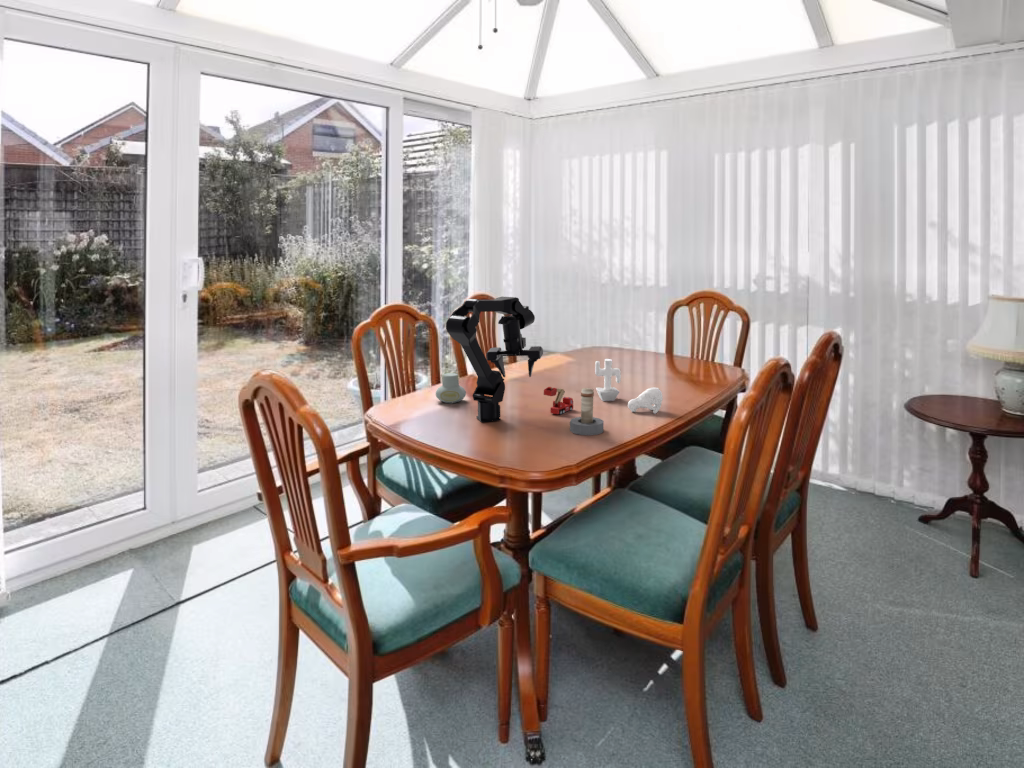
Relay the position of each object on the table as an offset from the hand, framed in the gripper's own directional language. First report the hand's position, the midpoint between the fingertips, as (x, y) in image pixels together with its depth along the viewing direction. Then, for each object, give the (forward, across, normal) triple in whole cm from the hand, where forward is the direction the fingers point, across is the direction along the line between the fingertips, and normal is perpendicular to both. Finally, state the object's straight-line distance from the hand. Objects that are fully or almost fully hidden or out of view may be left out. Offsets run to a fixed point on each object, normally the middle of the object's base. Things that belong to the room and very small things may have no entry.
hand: (517, 376), depth 221 cm
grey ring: (+9, -26, +22) cm, 36 cm away
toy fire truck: (+12, -14, +4) cm, 19 cm away
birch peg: (+9, -26, +22) cm, 36 cm away
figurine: (+17, -28, -19) cm, 37 cm away
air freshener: (+10, +27, -2) cm, 29 cm away
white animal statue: (+16, -42, -4) cm, 45 cm away
